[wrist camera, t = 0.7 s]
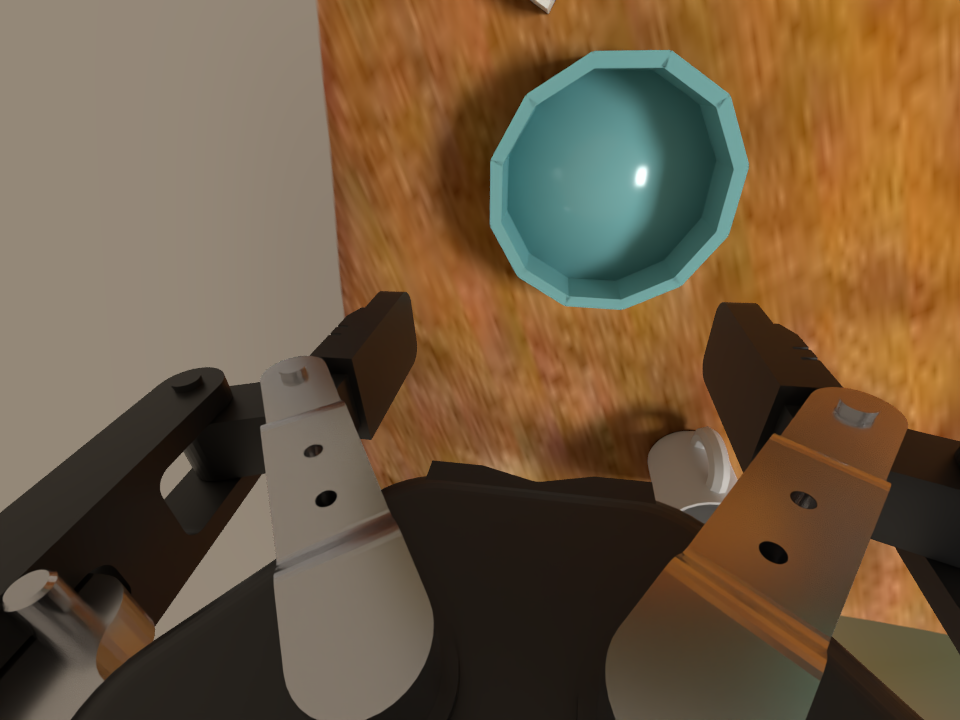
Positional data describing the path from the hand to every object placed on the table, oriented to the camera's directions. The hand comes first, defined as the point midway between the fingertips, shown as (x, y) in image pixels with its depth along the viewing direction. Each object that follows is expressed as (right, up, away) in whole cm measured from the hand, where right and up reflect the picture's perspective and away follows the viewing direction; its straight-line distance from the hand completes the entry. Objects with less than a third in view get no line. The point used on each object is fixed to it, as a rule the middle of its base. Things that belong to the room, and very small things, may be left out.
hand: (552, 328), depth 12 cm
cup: (+19, -9, +32) cm, 38 cm away
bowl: (+7, +12, +20) cm, 25 cm away
